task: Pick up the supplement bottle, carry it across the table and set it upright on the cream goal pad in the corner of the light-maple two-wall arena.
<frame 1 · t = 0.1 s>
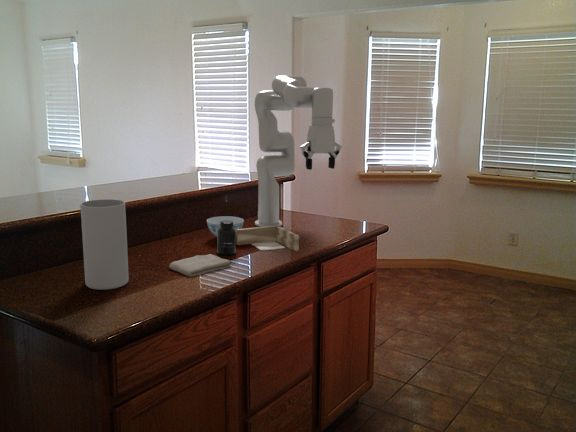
hand: (320, 168, 197), 31 cm above the table, fingers open, 9 cm apart
arena: (268, 246, 206), on the table
cylinder vase: (107, 284, 161), on the table
supplement bottle: (226, 253, 196), on the table
chinaware: (225, 238, 216), on the table
washcloth: (201, 269, 178), on the table
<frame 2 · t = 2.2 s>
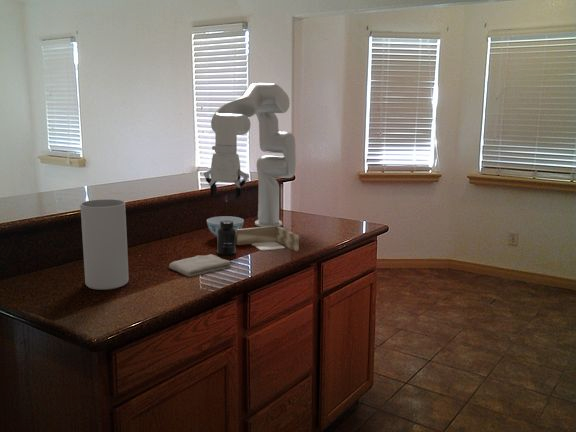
hand: (226, 197, 191), 21 cm above the table, fingers open, 9 cm apart
nothing on the table moved.
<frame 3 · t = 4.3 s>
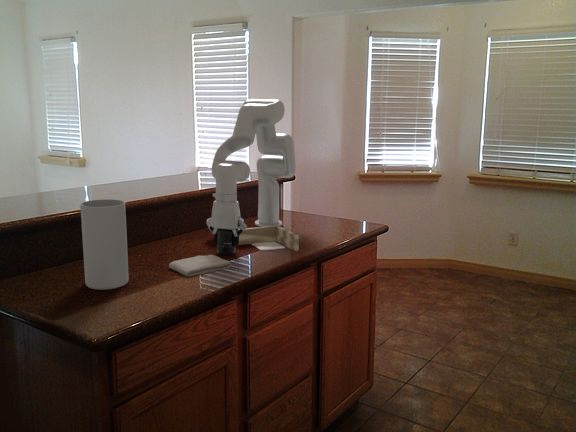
hand: (226, 244, 195), 3 cm above the table, fingers closed on supplement bottle, 6 cm apart
supplement bottle: (226, 253, 196), on the table, touching gripper
everything else where it was.
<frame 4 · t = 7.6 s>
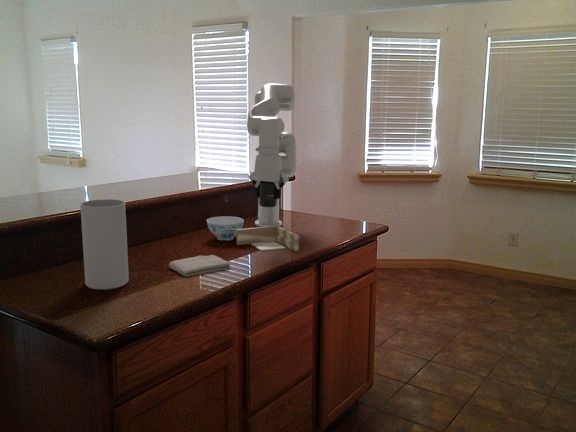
hand: (268, 197, 202), 19 cm above the table, fingers closed on supplement bottle, 6 cm apart
supplement bottle: (268, 206, 202), point 16 cm above the table, touching gripper
everything else where it was.
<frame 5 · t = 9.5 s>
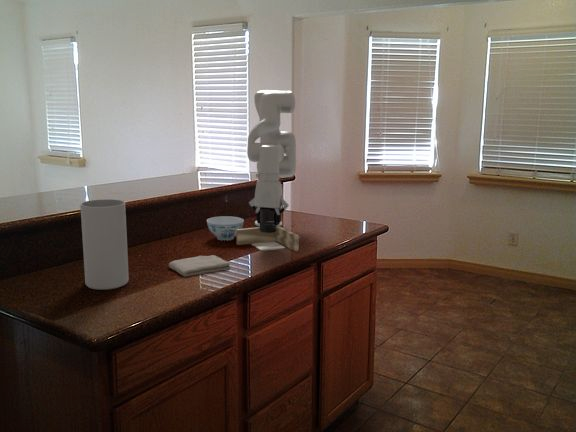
hand: (268, 223, 203), 9 cm above the table, fingers closed on supplement bottle, 6 cm apart
supplement bottle: (268, 231, 204), point 6 cm above the table, touching gripper
everything else where it was.
when the fingers open (5 cm above the table, at t = 10.9 s): supplement bottle drops 1 cm, resting on arena.
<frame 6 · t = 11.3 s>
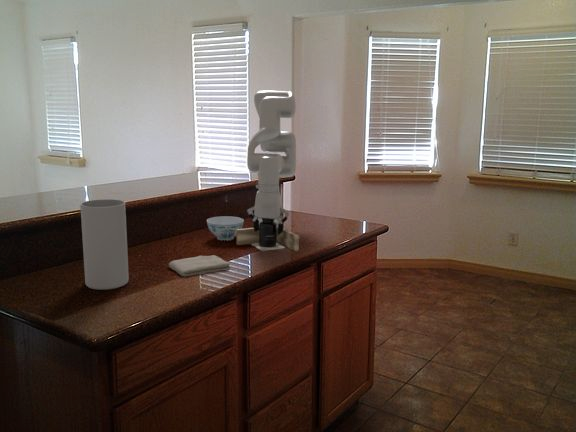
hand: (268, 232, 204), 6 cm above the table, fingers open, 9 cm apart
supplement bottle: (267, 245, 206), resting on arena
everything else where it was.
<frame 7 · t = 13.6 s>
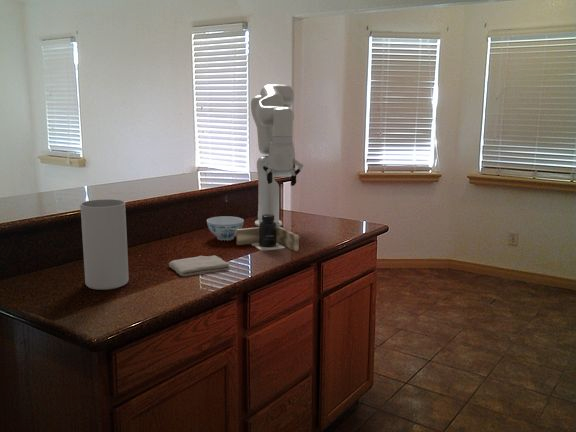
hand: (281, 184, 207), 24 cm above the table, fingers open, 9 cm apart
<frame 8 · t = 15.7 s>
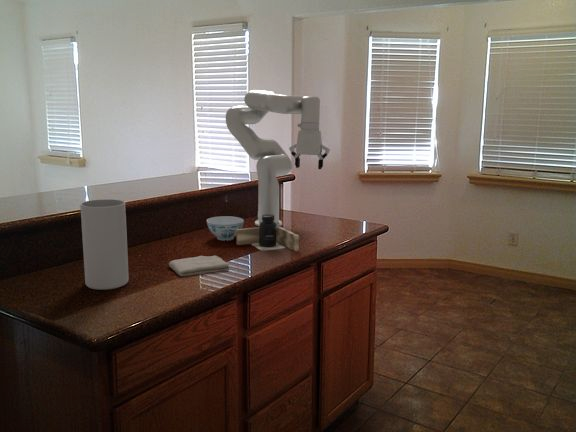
hand: (308, 168, 221), 28 cm above the table, fingers open, 9 cm apart
at the end: supplement bottle 0.3 cm off-centre on the arena, point 0.2 cm above the arena's base; supplement bottle tilted 0°; the gripper is holding nothing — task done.
